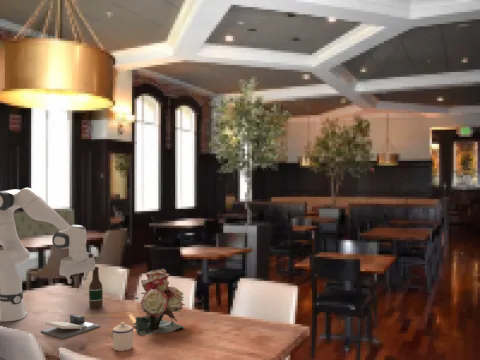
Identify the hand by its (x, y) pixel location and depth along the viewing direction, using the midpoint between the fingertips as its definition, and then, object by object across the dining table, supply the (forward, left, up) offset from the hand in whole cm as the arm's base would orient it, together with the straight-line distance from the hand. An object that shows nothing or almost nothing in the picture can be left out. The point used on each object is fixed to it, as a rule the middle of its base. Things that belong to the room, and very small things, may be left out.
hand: (77, 281), depth 264 cm
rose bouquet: (+40, +21, -23) cm, 51 cm away
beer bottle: (-21, +29, -23) cm, 43 cm away
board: (+5, -8, -23) cm, 25 cm away
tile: (+5, -12, -19) cm, 23 cm away
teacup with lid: (+47, -12, -23) cm, 53 cm away
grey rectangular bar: (+5, -1, -22) cm, 22 cm away
